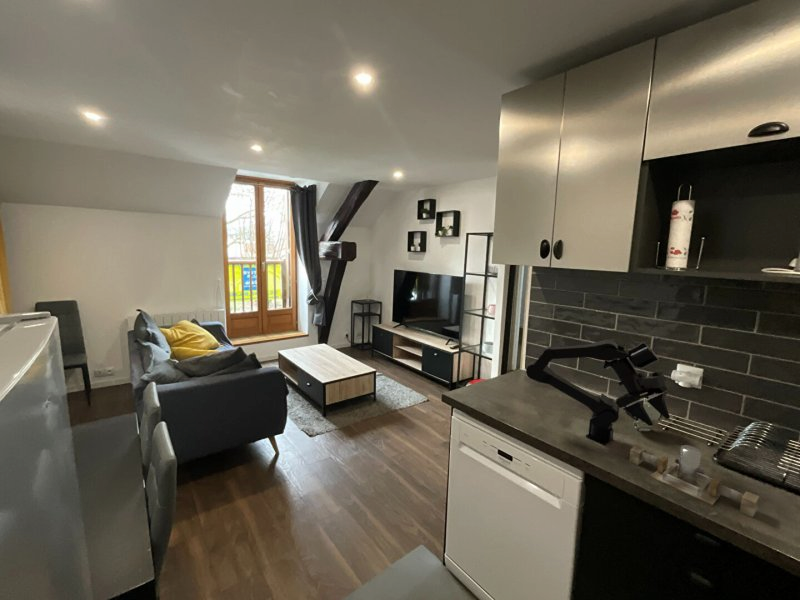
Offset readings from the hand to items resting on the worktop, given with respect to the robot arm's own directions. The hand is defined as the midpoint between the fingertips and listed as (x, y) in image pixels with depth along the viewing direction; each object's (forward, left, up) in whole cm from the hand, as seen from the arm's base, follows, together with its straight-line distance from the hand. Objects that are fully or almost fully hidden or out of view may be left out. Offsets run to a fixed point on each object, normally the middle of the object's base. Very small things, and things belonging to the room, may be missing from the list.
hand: (660, 421), depth 108 cm
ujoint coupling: (+9, -4, -13) cm, 16 cm away
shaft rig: (+9, -4, -13) cm, 17 cm away
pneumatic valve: (-11, +19, -14) cm, 26 cm away
